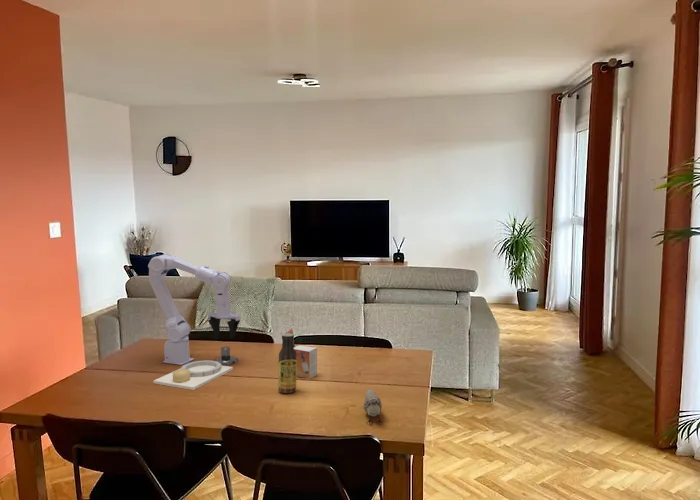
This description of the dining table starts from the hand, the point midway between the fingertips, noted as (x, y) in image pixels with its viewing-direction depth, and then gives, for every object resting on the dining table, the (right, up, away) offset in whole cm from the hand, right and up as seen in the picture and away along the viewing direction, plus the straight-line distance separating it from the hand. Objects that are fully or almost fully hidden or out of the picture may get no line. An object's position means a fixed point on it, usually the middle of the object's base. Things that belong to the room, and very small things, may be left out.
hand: (225, 336), depth 215 cm
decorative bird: (+57, -16, -51) cm, 78 cm away
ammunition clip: (+25, -10, +4) cm, 27 cm away
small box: (+33, -12, -15) cm, 39 cm away
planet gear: (0, -10, +1) cm, 11 cm away
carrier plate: (-8, -12, -15) cm, 21 cm away
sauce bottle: (+29, -14, -30) cm, 44 cm away
